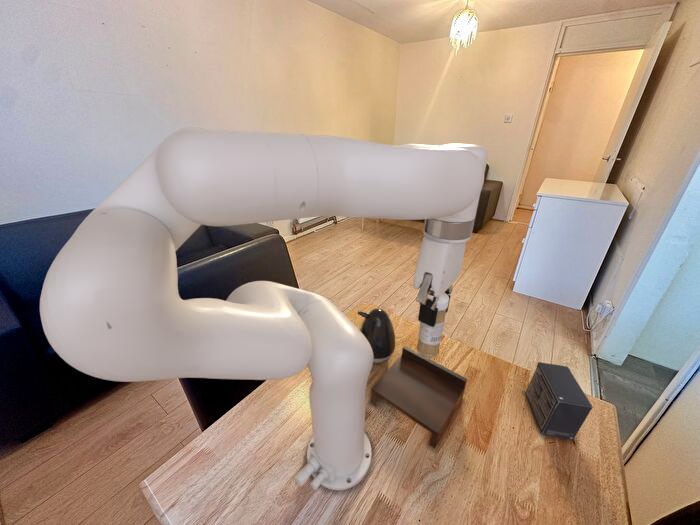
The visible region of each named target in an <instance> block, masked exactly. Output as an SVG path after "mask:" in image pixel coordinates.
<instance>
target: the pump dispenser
mask: <svg viewBox="0 0 700 525" xmlns="http://www.w3.org/2000/svg"><path fill="white" fill-rule="evenodd" d="M357 315H358V316H361V317H362V318H364V319H363V321H362V323H361V325H360V328H359V330H360V331H361V332H362V333H363V335H364V336H365V337H366V339H367V340H368V342H369V344H370V346H371V348H372V351H373V356H374V360H373V364H379V363H383V362H386V361H387V360H389V358H390V357H391V356H392V355H393V353H394V352H395V349H396V334H395V329H394V325H393V323H392V320H391V318H390V316H389V314H388V313H387V312H386V311H385V310H384V309H382V308H373V309H372V310H370V311H369V312H365V311H363V310H360V309H359V310H357Z"/></svg>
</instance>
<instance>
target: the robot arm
mask: <svg viewBox="0 0 700 525" xmlns="http://www.w3.org/2000/svg"><path fill="white" fill-rule="evenodd" d="M487 163H488V151H487V149H486V148H485V147H484V146H482V145H478V144H473V143H472V144H470V143H447V144H441V145H433V144H419V143H405V144H400V145H393V144H384V143H378V142H373V141H367V140H364V139H363V140H362V139H358V138H352V137H346V136H345V137H344V136H337V135H326V134H325V135H324V134H305V133H283V132H267V131H266V132H265V131H263V132H262V131H247V130H228V129H215V128H214V129H212V128H202V127H185V128H180V129H177V130H176V131H173V132H172V133H170V134H169V135H168V136H167V137H165V138H164V139H163V140H162V141H161V142H160V143H159V144H158V146H157V147H155V149H154V150H153V151H152V152H151V153H150V154H149V155H148V156H147V158H146V159H144V161H143V162H142V163H141V164H139V165H138V166H137V168H135V170H134V171H133V172H131V173H130V175H128V177H126V178H125V179H124V180H123V181H122V182H121V183H120V184H119V185H118V186H117V187H116V188H115V189H114V190H113V191H111V193H110V194H109V195H107V197H105V198H104V199H103V200H102V202H100V203H99V204H98V205H97V206H96V207H95V208H94V209H93V210H92V211H90V213H89V214H88V215H87V216H86V217H84V219H83V221H82V222H81V223H80V224H79V225H78V227H77V228H76V230H75V231H74V232H73V234H72V235H71V237H70V238H69V239H68V241H67V242H66V243H65V244H64V245H63V247H62V248H61V249H60V250H59V252H58V253H57V255H56V256H55V258H54V259H53V261H52V262H51V264H50V267H49V268H48V270H47V272H46V275H45V278H44V281H43V284H42V289H41V293H40V297H39V315H40V321H41V326H42V329H43V333H44V335H45V338H46V339H47V341H48V343H49V345H50V346H51V348H52V349H53V351H54V352H55V353H56V354H57V355H58V356H59V357H60V358H61V359H62V360H63V361H64V362H65V363H66V364H68V365H69V366H71V367H72V368H74V369H75V370H77V371H79V372H81V373H83V374H85V375H88V376H91V377H94V378H97V379H101V380H105V381H112V382H122V383H123V382H125V383H131V382H133V383H137V382H151V381H163V380H172V379H173V380H174V379H187V378H189V379H190V378H191V379H192V378H193V379H214V380H215V379H216V380H217V379H218V380H250V381H251V380H254V381H279V380H285V379H289V378H292V377H294V376H296V375H298V374H300V373H301V372H303V370H305V368H306V367H307V369H308V371H309V373H310V376H311V379H312V380H311V383H310V386H309V392H308V393H309V395H308V396H309V398H308V399H309V408H310V417H311V418H310V419H311V428H312V436H311V437H310V439H309V442H308V445H307V448H306V449H307V450H306V464H305V466H303V467H302V468H301V469H300V470H299V472H297V474H296V475H295V476H294V480H295V482H296V484H297V485H298V486H299V487H300V488H302V487H303V486H304V485H305V484H306V482H307V481H308V480H309V479H310V477H311V476H312V477H313V479H312V481H311V482H310V483H309V484H310V486H311V488H312V489H313V490H314V491H317V490H318V488H319V487H320V486H322V487H324V488H326V489H329V490H332V491H344V490H345V491H346V490H348V489H352V488H353V487H355V486H356V485H358V484H359V483H360V482H361V481H362V480H363V479H364V478H365V476H366V475H367V474H368V471H369V469H370V467H371V463H372V456H373V454H372V452H373V450H372V445H371V441H370V438H369V436H368V435H367V433H366V432H365V431H366V430H365V428H366V425H365V424H366V399H367V398H366V397H367V387H368V380H369V377H370V374H371V371H372V369H373V365H374V362H373V360H374V356H373V351H372V348H371V346H370V344H369V342H368V340H367V339H366V337H365V336H364V335H363V333H362V332H361V331H360V328H358V327H357V326H356V324H355V323H354V322H352V321H351V319H350V318H349V317H348V316H347V315H345V314H344V313H343V312H342V310H340V309H339V307H337V306H336V305H335V303H334V302H332V301H331V299H328V298H327V297H326V296H324V295H321V294H319V293H316V292H312V291H308V290H305V289H301V288H297V287H294V286H290V285H286V284H282V283H279V282H275V281H270V280H255V281H251V282H247V283H244V284H241V285H240V286H238V287H237V288H235V289H234V290H233V291H232V292H231V293H230V294H229V295H228V297H227V298H226V299H225V300H224V299H220V298H212V297H200V298H199V297H198V298H189V299H182V298H181V295H180V293H179V286H178V283H179V274H178V265H177V264H178V263H177V262H178V261H177V260H178V259H177V254H176V252H177V251H178V250H179V248H181V247H182V245H183V244H184V243H185V242H186V241H187V240H188V239H189V238H190V237H192V235H193V234H194V233H195V232H196V231H197V230H198V229H199V228H200V227H201V226H206V227H207V226H208V227H232V226H240V225H251V224H261V223H269V222H278V221H287V220H297V219H308V218H309V219H310V218H317V217H344V218H352V219H353V218H354V219H376V220H377V219H379V220H381V219H382V220H396V221H397V220H400V221H418V220H419V221H420V220H424V225H423V238H422V240H421V244H420V247H419V252H418V255H417V261H416V265H415V271H414V278H413V282H412V283H413V284H412V287H413V289H414V290H418V293H417V295H416V298H415V301H416V302H417V303H418V304H419V311H418V317H417V320H418V321H419V323H420V322H422V323H424V324H427V325H429V326H431V327H434V326H435V323H436V318H437V312H438V308H436V306H437V302H438V299H439V296H440V295H442V294H443V293H446V294H447V295H448V296H449V303H448V307H447V309H446V314H447V313H448V312H449V306H450V303H451V302H450V301H451V297H452V296H451V295H452V292H453V284H454V283H455V282H456V281H457V280H458V279H459V277H460V274H461V271H462V268H463V263H464V258H465V250H466V243H467V242H468V241H470V240H471V239H472V236H473V235H472V234H473V230H474V225H475V221H476V216H477V210H478V206H479V203H480V202H479V201H480V196H481V192H482V190H483V186H484V183H485V174H486V168H487V165H488V164H487ZM428 294H429V295H432V296H434V297H433V301H431V300H430V299H428V298H427V296H428Z"/></svg>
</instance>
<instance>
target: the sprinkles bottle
mask: <svg viewBox="0 0 700 525" xmlns="http://www.w3.org/2000/svg"><path fill="white" fill-rule="evenodd" d="M448 295H449V294H448ZM448 295H447V294H446V293H443V294H442V295H440V296H439V299H438V302H437V306H436V308H438V312H437V318H436V323H435V326H434V327H431V326H429V325H427V324H424V323H422V322H420V321H419V330H418V339H417V344H416V350H417V353H419V354H421V355H423V356H425V357H427V358H434V357H437V356H438V355H439V353H440V345H441V342H442V337H443V332H444V326H445V322H446V321H445V320H446V319H445V318H446V314H447V313H446V309H447V307H448V303H449V304H450V302H449V296H448ZM433 297H434V296H432V295H429V294H428V296H427V298H428V299H430V300H431V301H433ZM448 308H449V307H448Z"/></svg>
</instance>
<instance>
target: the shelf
mask: <svg viewBox="0 0 700 525" xmlns="http://www.w3.org/2000/svg"><path fill="white" fill-rule="evenodd" d="M467 382H468V378H466V377H464V376H463V375H461V374H459V373H457V372H455V371H453V370H451V369H449V368H447V367H446V366H443V365H441V364H440V363H438V362H436V361H434V360H432V359H430V357H426V356H423V355H421V354H420V353H419V352H418V351H416V350H413V349H411V348H410V347H408V346H406V345H404V346H403V347H402V348H401V355H400V356H399V358H398V359H396V360H395V362H394V363H393V364H392V365H391V366H390V367H389V368H388V369H387V370H386V372H385V373H384V374H383V375H382V376H381V377H380V378H379V379H378V380H377V381H376V382H375V383H374V385H373V386H372V387H370V388H371V392H370V404H372V405H373V406H374V407H376V405H377V404H378V403H379V401H381V400H383V401H384V402H386V403H387V404H388V405H389V406H392V407H393V408H394V409H396V410H397V411H398V412H400V413H402V414H403V415H404V416H406V417H408V419H410V420H412V421H413V422H415V423H416V424H417V425H419V426H420V427H422V428H423V429H424V430H426V431H428V432H429V433H431V437H430V440H429V441H430V442H429V446H430V447H432V449H434V450H436V448H437V447H438V444H440V441H441V439H442V437H443V436H444V434H445V432H446V430H447V429H448V427H449V425H450V423H451V421H452V420H453V418H454V416H455V415H456V412H457V411H458V409H459V407H460V405H461V404H462V402H463V398H464V394H465V391H466V386H467Z"/></svg>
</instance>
